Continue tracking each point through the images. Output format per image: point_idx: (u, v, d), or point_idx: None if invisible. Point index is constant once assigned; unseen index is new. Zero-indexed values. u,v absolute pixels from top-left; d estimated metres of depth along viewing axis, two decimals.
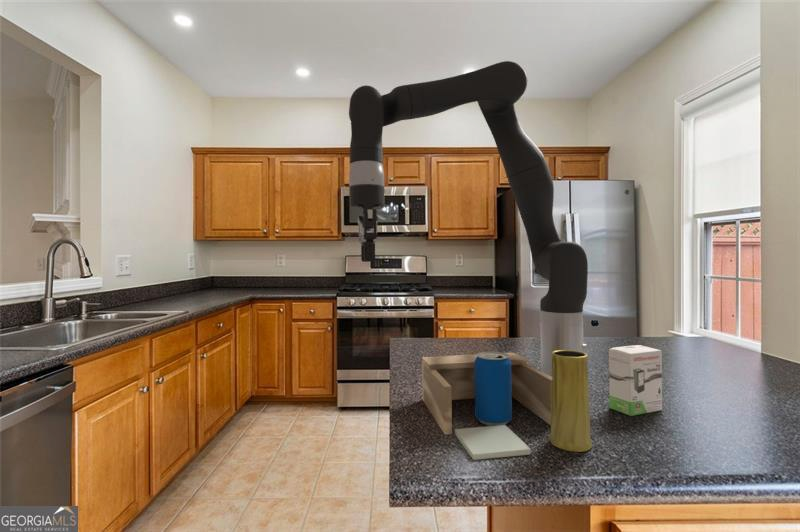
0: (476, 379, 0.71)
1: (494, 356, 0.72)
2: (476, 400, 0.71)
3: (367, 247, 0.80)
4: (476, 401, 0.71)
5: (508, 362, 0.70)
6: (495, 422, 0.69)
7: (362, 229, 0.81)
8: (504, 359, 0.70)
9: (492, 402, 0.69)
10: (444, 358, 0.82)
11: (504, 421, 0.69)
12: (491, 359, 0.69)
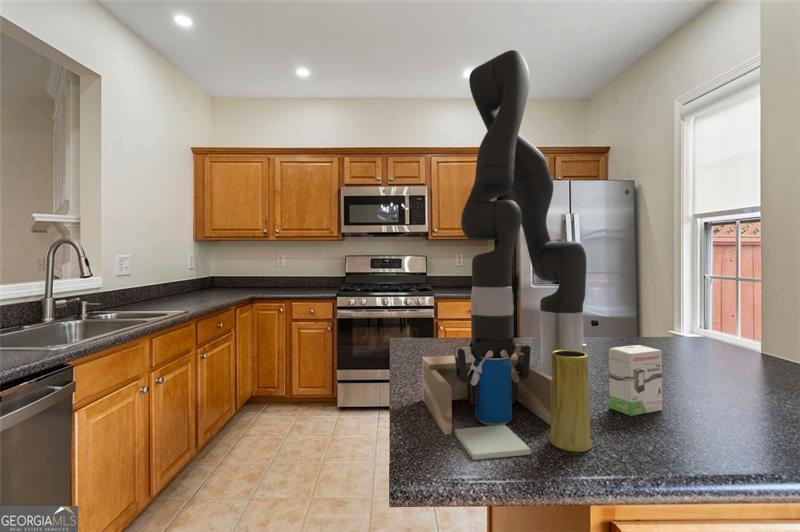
0: None
1: None
2: None
3: None
4: None
5: (508, 362, 0.70)
6: (495, 422, 0.69)
7: None
8: (504, 359, 0.70)
9: (493, 402, 0.69)
10: (444, 358, 0.82)
11: (504, 421, 0.69)
12: (491, 359, 0.69)
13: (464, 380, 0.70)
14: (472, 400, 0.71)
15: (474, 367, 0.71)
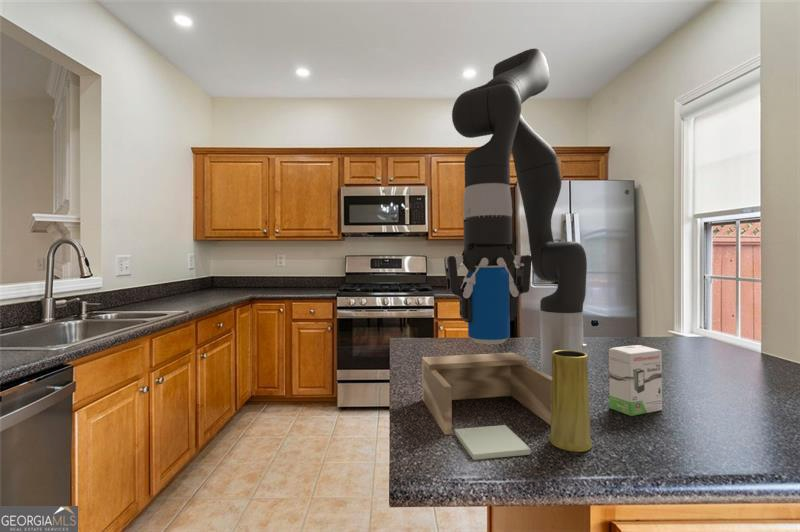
0: None
1: None
2: None
3: None
4: None
5: (506, 271, 0.61)
6: (491, 338, 0.60)
7: None
8: (501, 267, 0.61)
9: (488, 315, 0.60)
10: (444, 358, 0.82)
11: (501, 337, 0.60)
12: (486, 267, 0.60)
13: (455, 292, 0.61)
14: (464, 316, 0.62)
15: (467, 279, 0.62)
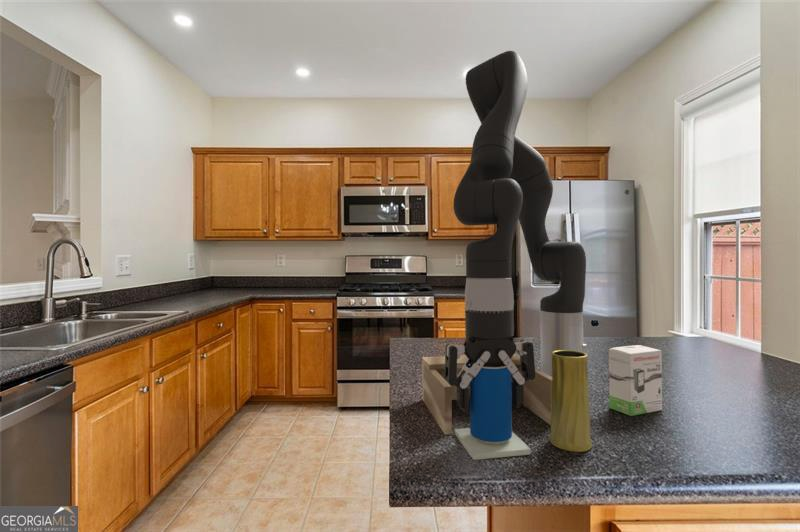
0: (471, 391, 0.62)
1: None
2: (471, 415, 0.62)
3: None
4: (471, 416, 0.62)
5: (508, 371, 0.61)
6: (493, 440, 0.60)
7: None
8: (503, 368, 0.61)
9: (490, 417, 0.60)
10: (444, 358, 0.82)
11: (503, 439, 0.60)
12: (488, 368, 0.60)
13: (452, 382, 0.61)
14: (462, 405, 0.61)
15: (466, 368, 0.62)
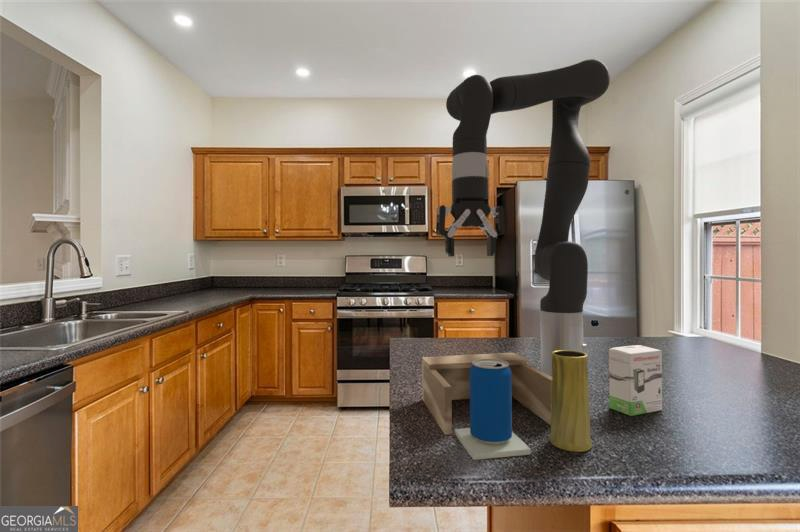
0: (471, 390, 0.62)
1: (492, 364, 0.63)
2: (471, 414, 0.62)
3: None
4: (471, 416, 0.62)
5: (508, 371, 0.61)
6: (493, 440, 0.60)
7: None
8: (503, 368, 0.61)
9: (490, 417, 0.60)
10: (444, 358, 0.82)
11: (503, 439, 0.60)
12: (488, 368, 0.60)
13: (441, 232, 0.80)
14: (449, 251, 0.81)
15: (452, 224, 0.82)
